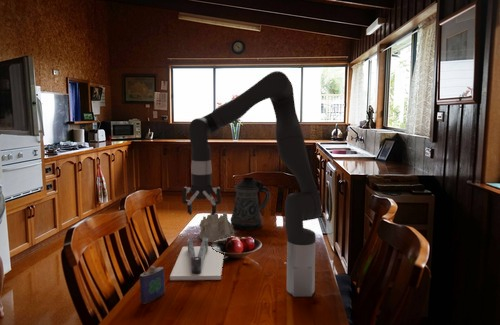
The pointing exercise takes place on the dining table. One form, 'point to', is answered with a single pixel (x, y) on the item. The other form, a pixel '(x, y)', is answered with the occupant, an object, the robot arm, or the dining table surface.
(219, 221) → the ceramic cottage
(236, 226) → the beer stein
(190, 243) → the tongs arm
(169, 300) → the dining table surface
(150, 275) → the flask
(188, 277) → the cutting board
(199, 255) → the arm
